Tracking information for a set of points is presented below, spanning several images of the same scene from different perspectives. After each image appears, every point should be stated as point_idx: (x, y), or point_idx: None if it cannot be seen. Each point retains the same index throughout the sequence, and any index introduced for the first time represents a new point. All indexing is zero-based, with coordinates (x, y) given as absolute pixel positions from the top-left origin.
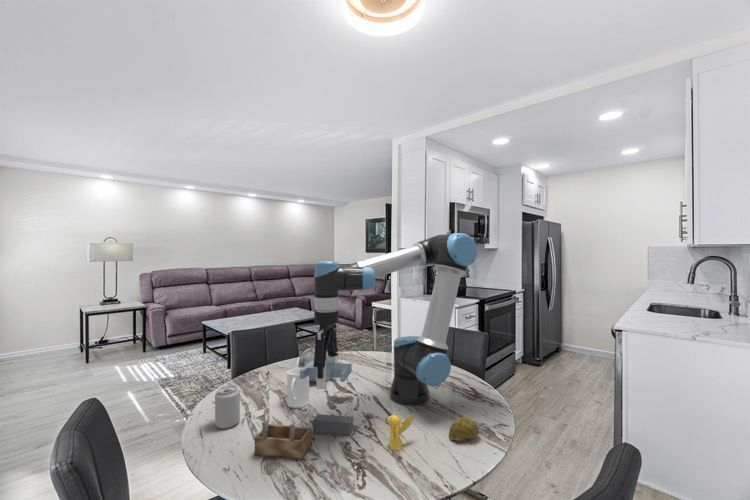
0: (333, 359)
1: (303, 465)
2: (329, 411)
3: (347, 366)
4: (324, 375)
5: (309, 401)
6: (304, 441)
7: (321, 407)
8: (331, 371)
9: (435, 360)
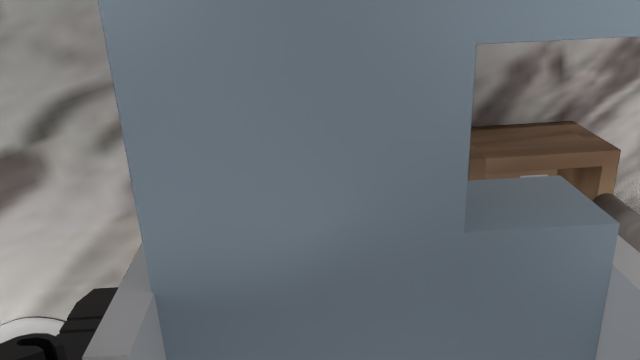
0: (146, 348)
1: (610, 98)
2: (77, 172)
3: (277, 16)
4: (630, 254)
5: (19, 323)
6: (576, 146)
7: (47, 235)
8: (477, 218)
9: None
